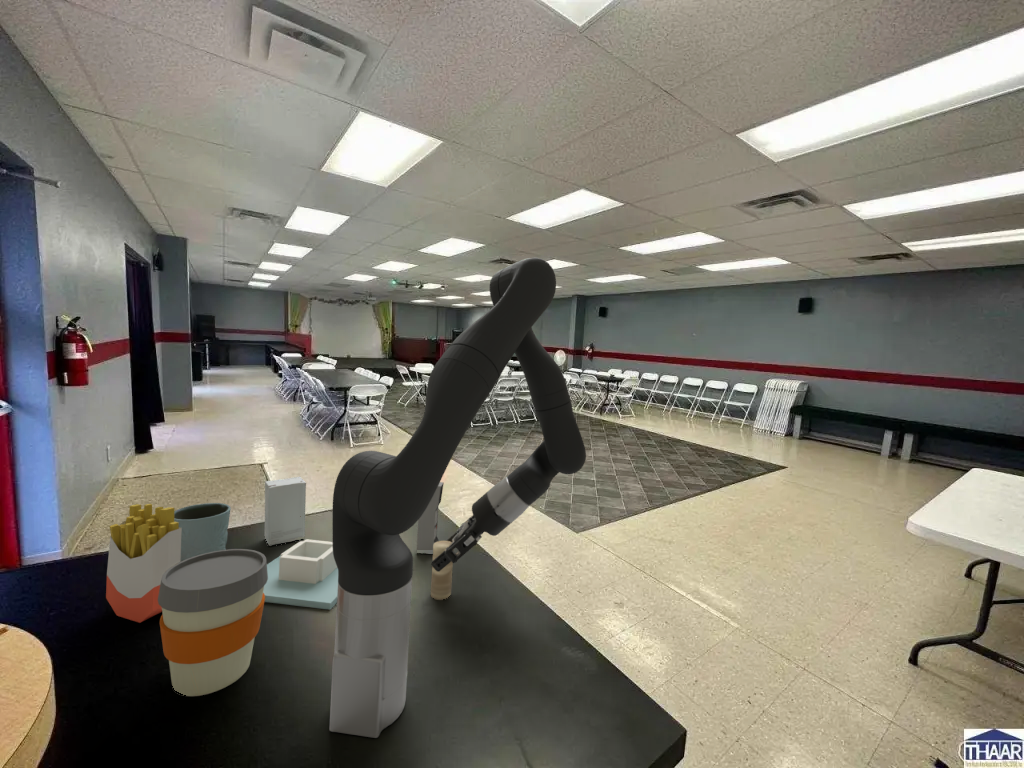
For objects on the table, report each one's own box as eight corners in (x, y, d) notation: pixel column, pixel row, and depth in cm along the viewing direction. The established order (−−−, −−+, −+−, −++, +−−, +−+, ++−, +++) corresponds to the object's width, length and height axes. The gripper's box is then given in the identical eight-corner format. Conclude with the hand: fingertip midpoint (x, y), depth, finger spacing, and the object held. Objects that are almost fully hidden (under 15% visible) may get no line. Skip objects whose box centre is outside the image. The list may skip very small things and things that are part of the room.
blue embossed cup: (239, 558, 91) (241, 505, 91) (201, 581, 81) (203, 521, 81) (197, 554, 92) (199, 500, 92) (153, 576, 82) (156, 516, 82)
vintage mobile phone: (437, 555, 99) (442, 451, 98) (416, 554, 99) (422, 450, 98) (440, 548, 103) (445, 448, 102) (419, 547, 103) (425, 447, 102)
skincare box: (299, 532, 107) (302, 475, 107) (305, 540, 102) (308, 481, 102) (262, 539, 102) (264, 479, 101) (266, 548, 97) (269, 485, 97)
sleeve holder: (330, 609, 75) (331, 578, 75) (227, 597, 77) (228, 567, 76) (376, 560, 95) (378, 535, 95) (294, 551, 97) (295, 527, 96)
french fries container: (149, 627, 67) (153, 518, 66) (102, 613, 70) (106, 508, 69) (178, 612, 71) (182, 509, 71) (133, 599, 74) (137, 500, 74)
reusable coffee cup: (246, 631, 67) (250, 541, 67) (278, 670, 60) (283, 568, 59) (144, 672, 58) (148, 566, 57) (167, 725, 50) (172, 602, 49)
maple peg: (448, 601, 80) (451, 550, 80) (428, 598, 80) (430, 548, 80) (453, 590, 84) (455, 541, 84) (433, 588, 84) (436, 539, 84)
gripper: (493, 481, 88) (438, 529, 89) (482, 502, 74) (416, 558, 75) (517, 508, 87) (460, 555, 89) (510, 534, 73) (443, 590, 75)
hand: (440, 557), depth 82 cm, fingers open, 8 cm apart
